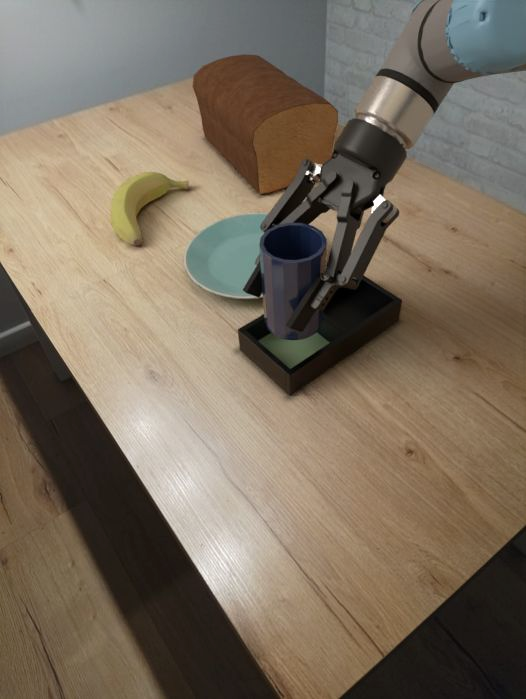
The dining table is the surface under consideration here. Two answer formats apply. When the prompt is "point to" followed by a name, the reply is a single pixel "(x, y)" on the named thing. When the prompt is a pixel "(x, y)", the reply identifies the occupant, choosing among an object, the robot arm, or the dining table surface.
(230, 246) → the plate
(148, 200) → the banana
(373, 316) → the tray
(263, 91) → the bread
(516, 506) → the dining table surface
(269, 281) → the cup
